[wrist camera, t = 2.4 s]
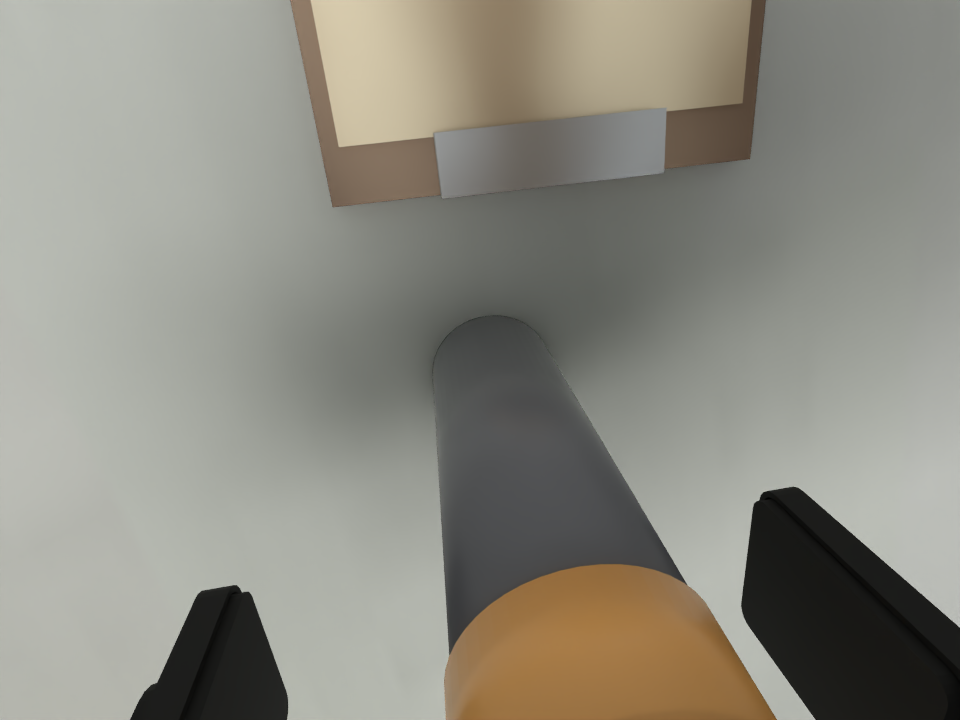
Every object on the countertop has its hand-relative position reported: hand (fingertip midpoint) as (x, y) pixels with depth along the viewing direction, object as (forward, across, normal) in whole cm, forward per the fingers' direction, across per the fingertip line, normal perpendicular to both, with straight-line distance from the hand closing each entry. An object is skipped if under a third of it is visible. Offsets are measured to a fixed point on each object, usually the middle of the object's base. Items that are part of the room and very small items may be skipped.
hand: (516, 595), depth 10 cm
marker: (+9, -1, 0) cm, 9 cm away
